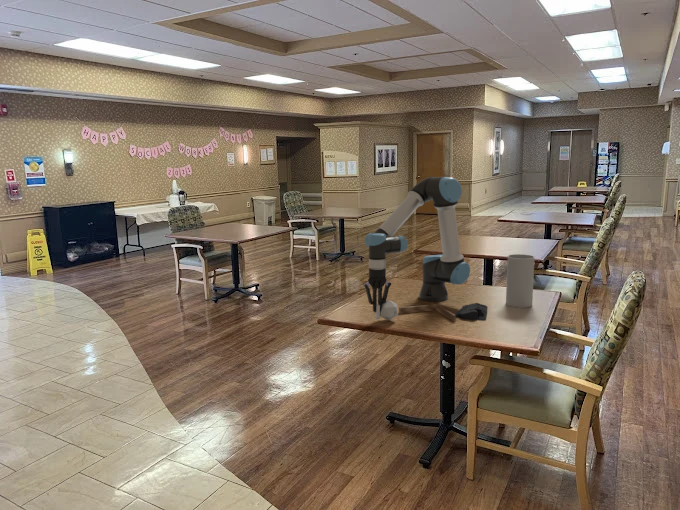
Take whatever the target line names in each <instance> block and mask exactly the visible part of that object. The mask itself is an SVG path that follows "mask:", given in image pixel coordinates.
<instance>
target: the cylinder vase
mask: <svg viewBox="0 0 680 510" xmlns="http://www.w3.org/2000/svg"><path fill="white" fill-rule="evenodd" d="M506 266H507V267H506V269H507V270H506V289H505V290H506V291H505V292H506V294H505V305H507V306H508V307H511V308H513V307H514V308H520V309H526V308H530V307H532V306H533V299H534V298H533V296H534V295H533V293H534V274H535V256H534V255H531V254H523V253H522V254H521V253H520V254H519V253H518V254H517V253H516V254H514V253H513V254H508V255H507V265H506Z"/></svg>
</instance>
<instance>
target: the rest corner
mask: <svg viewBox="0 0 680 510" xmlns="http://www.w3.org/2000/svg"><path fill="white" fill-rule="evenodd" d="M432 311H436V312H438V313H440V314H441V315H443V316H444V317H446V318H447V319H449V320H450V321H452V322H457V321H456V320H457V318H456V315H455V313H453V312H452V311H450V310H448V309H446V308H444V307H443V306H441V305H440V304H438V303H433V304H424V305H413V306H412V305H411V306H400V307H398V315H399V314H402V315H403V314H409V313H420V312H421V313H422V312H432Z"/></svg>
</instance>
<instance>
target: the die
mask: <svg viewBox="0 0 680 510" xmlns="http://www.w3.org/2000/svg"><path fill="white" fill-rule="evenodd" d="M380 317H381V318H383V319H385V320H386V321H391V320H392V319H395V318H396V317H399V307H398V304H397V303H395V302H393V301H392V300H390V299H386V303H384V304H382V308H381V312H380Z"/></svg>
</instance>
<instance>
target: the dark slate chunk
mask: <svg viewBox="0 0 680 510" xmlns="http://www.w3.org/2000/svg"><path fill="white" fill-rule="evenodd" d="M454 314H455V315H456V319H461V320H466V321H480V322H481V321H482V322H484V321H486V320H487V315H488V306H487V305H486V304H482V303H478V302H475V303H469V304H465V305H463V306H462V307H461V308H460V309H458V310H457V311H456V312H455V313H454Z"/></svg>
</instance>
